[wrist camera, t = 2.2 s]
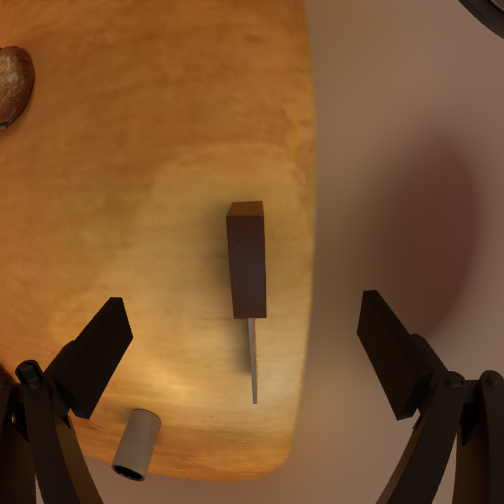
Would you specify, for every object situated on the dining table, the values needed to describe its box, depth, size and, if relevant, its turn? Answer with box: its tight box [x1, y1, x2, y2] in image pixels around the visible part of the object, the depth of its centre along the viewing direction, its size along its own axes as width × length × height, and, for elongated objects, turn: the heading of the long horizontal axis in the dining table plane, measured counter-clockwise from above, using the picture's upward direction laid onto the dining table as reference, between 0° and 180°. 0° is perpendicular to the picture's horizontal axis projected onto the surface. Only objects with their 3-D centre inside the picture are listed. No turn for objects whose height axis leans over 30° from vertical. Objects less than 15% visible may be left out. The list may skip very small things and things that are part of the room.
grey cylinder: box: [111, 409, 161, 481], centre depth 29 cm, size 4×4×10 cm
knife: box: [226, 201, 267, 404], centre depth 24 cm, size 19×2×5 cm, turn 2°
